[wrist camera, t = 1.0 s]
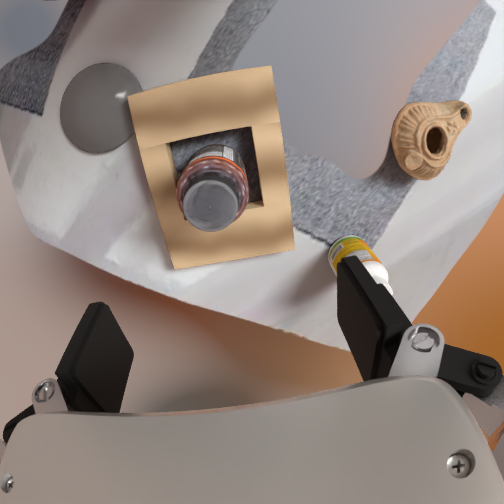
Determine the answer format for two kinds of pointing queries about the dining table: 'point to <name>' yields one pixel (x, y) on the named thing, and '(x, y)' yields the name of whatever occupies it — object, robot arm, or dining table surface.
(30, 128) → the dining table surface
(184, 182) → the supplement bottle
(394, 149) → the pottery oil lamp
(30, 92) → the dining table surface
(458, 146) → the dining table surface
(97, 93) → the slate coaster
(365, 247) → the supplement bottle
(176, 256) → the holder board
